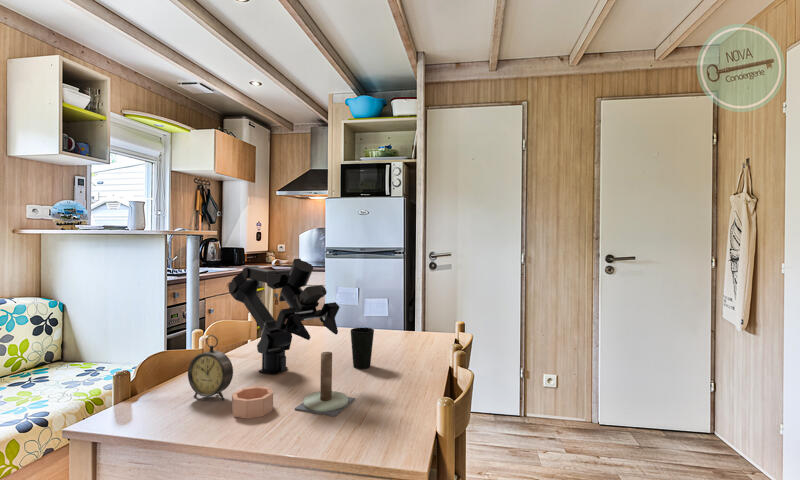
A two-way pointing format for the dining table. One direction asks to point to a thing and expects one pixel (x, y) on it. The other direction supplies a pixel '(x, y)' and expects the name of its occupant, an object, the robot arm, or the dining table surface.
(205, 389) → the alarm clock
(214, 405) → the dining table surface
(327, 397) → the wooden peg on disc
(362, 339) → the cup
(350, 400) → the mat
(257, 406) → the bowl
